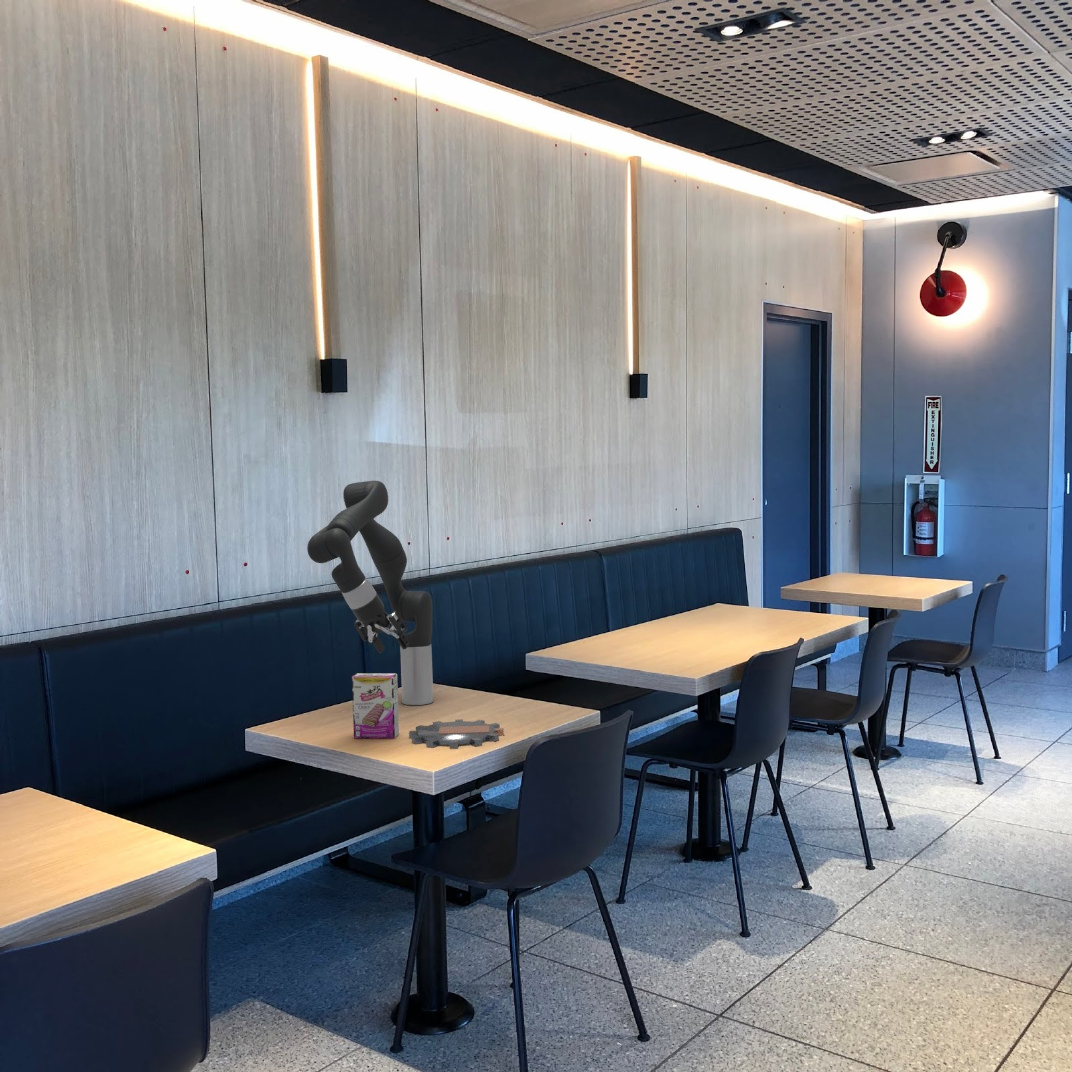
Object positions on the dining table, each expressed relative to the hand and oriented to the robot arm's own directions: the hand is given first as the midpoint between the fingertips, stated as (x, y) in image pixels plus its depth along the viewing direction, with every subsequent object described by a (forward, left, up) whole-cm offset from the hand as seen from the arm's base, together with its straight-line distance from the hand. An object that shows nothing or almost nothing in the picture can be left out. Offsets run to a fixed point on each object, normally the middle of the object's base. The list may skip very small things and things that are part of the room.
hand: (394, 649), depth 286 cm
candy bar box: (-3, -6, -24) cm, 25 cm away
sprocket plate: (-1, +15, -23) cm, 28 cm away
